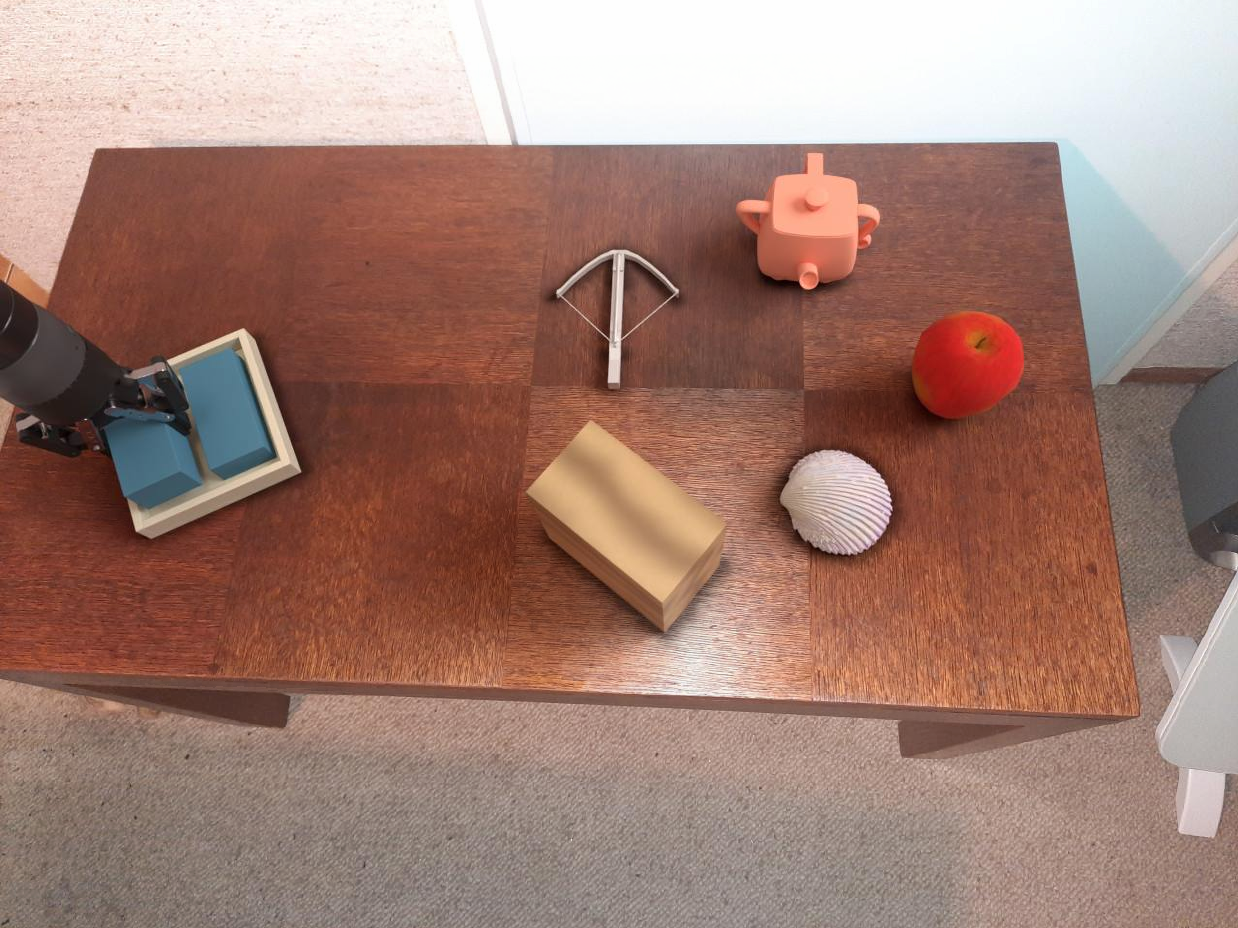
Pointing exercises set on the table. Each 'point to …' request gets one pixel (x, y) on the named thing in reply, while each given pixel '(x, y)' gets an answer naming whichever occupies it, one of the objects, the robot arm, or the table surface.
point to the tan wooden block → (628, 524)
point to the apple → (966, 364)
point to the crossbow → (616, 303)
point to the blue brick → (227, 414)
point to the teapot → (809, 226)
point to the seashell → (837, 502)
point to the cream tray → (213, 486)
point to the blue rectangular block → (151, 460)
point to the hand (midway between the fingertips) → (156, 440)
